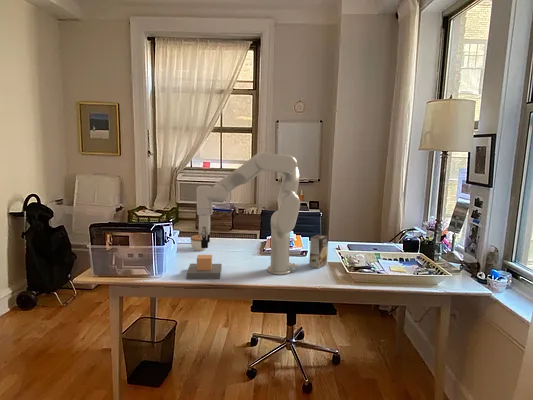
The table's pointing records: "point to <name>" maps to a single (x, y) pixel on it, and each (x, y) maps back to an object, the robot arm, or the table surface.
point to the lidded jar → (196, 243)
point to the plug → (204, 262)
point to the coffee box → (318, 251)
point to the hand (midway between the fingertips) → (205, 245)
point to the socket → (204, 272)
